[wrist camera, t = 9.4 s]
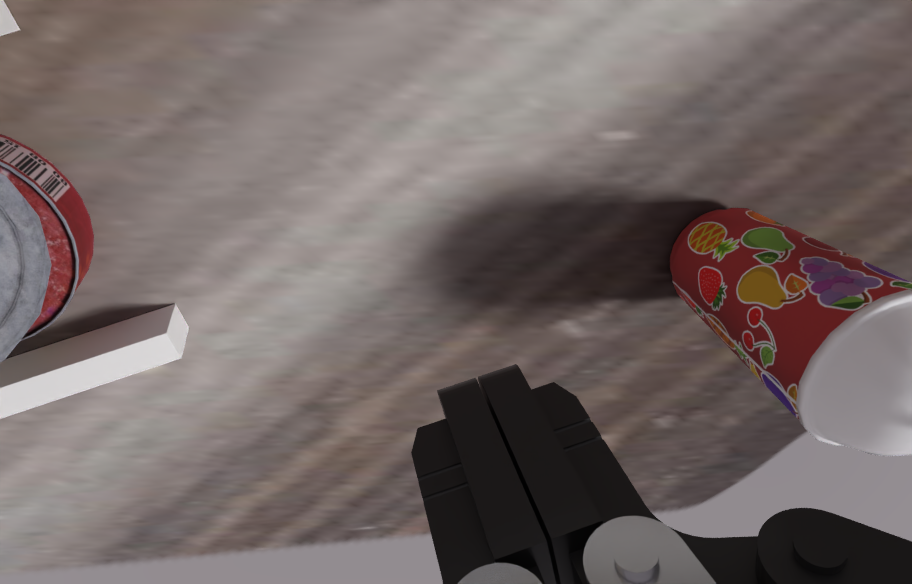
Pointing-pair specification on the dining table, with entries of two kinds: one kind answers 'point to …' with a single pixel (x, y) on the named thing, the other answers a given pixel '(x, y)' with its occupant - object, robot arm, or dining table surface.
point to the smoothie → (806, 324)
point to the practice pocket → (88, 346)
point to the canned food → (37, 243)
